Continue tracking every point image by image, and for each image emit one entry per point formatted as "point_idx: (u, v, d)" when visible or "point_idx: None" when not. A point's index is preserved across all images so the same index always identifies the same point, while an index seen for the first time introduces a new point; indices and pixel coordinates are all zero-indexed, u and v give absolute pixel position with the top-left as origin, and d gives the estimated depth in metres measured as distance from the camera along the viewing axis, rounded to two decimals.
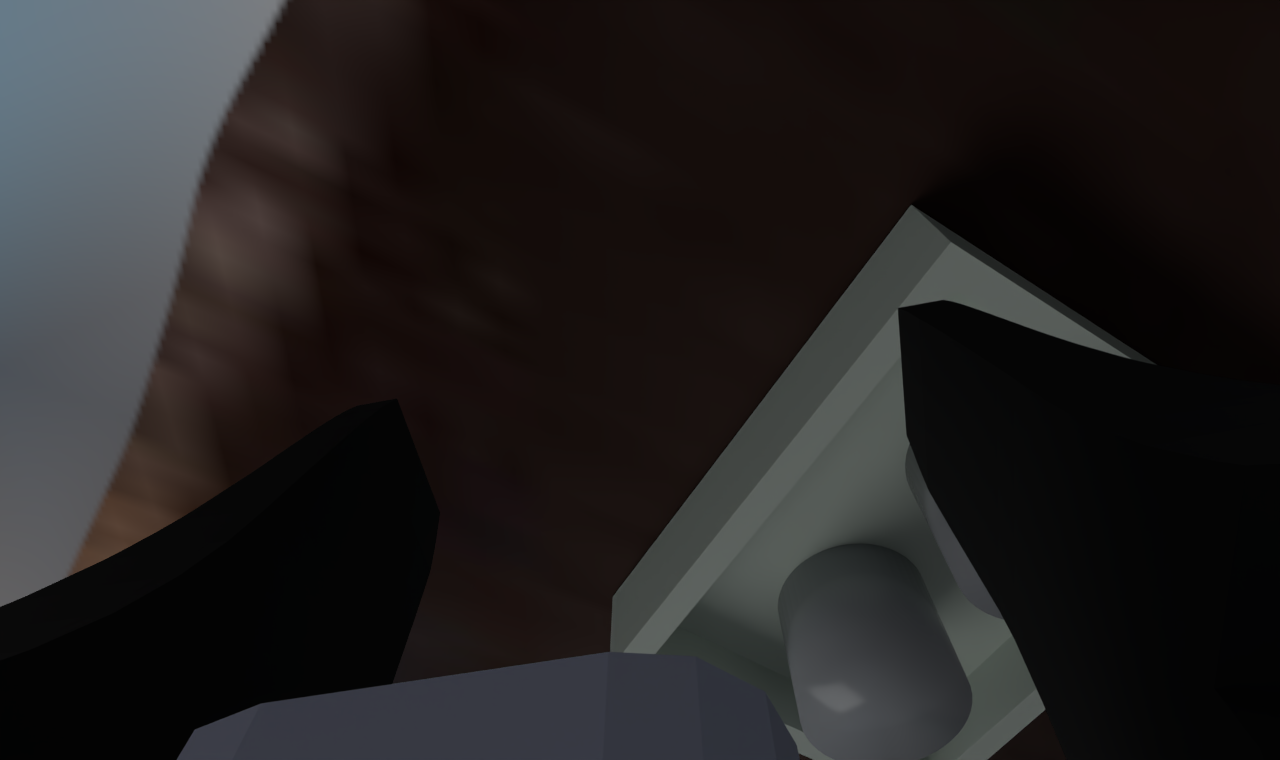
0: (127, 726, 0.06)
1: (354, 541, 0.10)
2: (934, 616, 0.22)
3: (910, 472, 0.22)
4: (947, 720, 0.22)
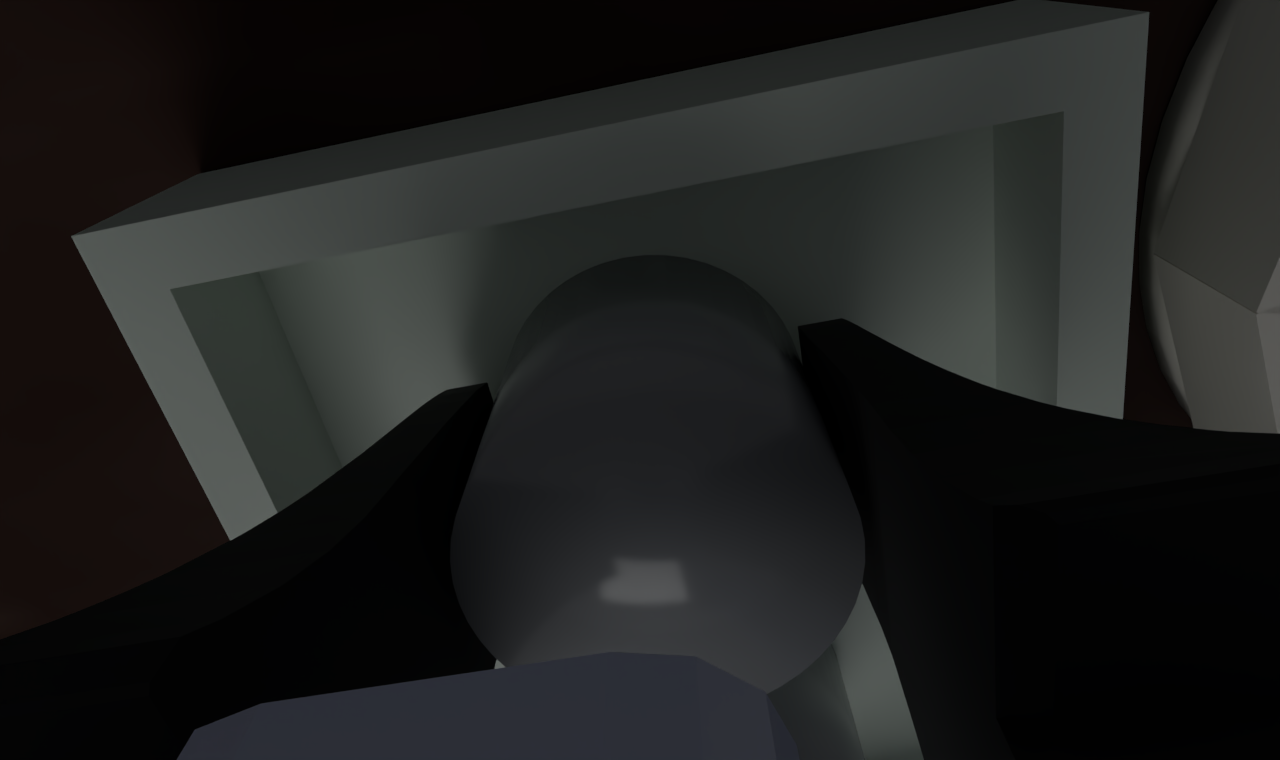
0: None
1: None
2: None
3: None
4: None
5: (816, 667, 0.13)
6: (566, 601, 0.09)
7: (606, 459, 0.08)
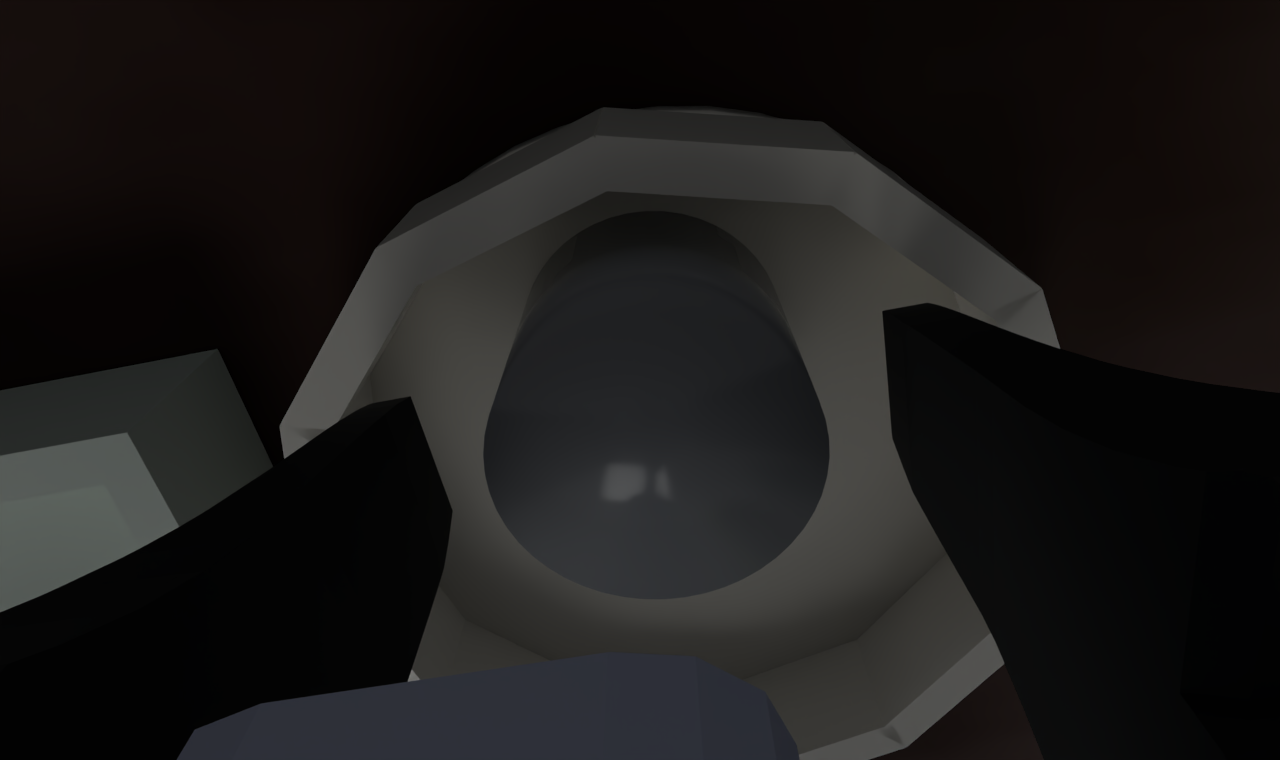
0: (152, 722, 0.06)
1: (369, 538, 0.10)
2: None
3: None
4: None
5: None
6: (580, 491, 0.11)
7: (614, 365, 0.10)
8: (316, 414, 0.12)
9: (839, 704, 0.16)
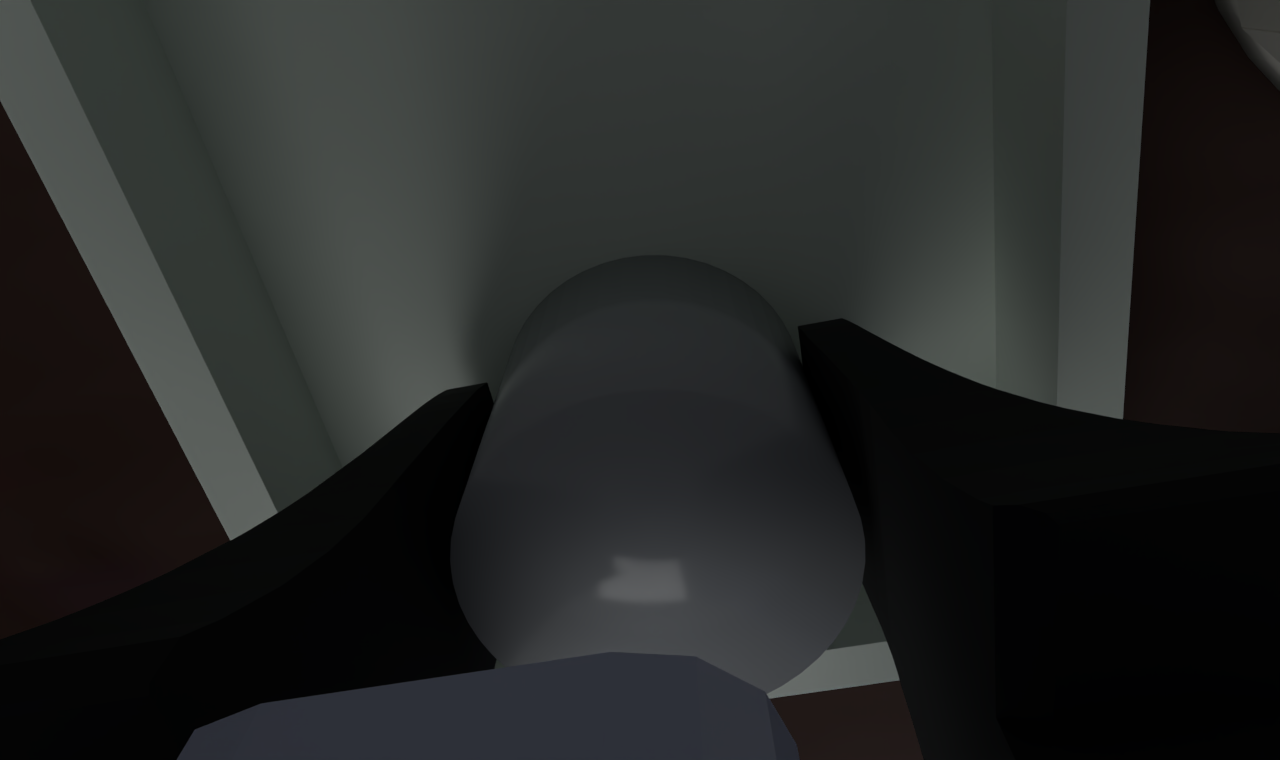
0: None
1: None
2: (662, 320, 0.09)
3: None
4: (804, 509, 0.09)
5: (766, 325, 0.11)
6: None
7: None
8: None
9: None
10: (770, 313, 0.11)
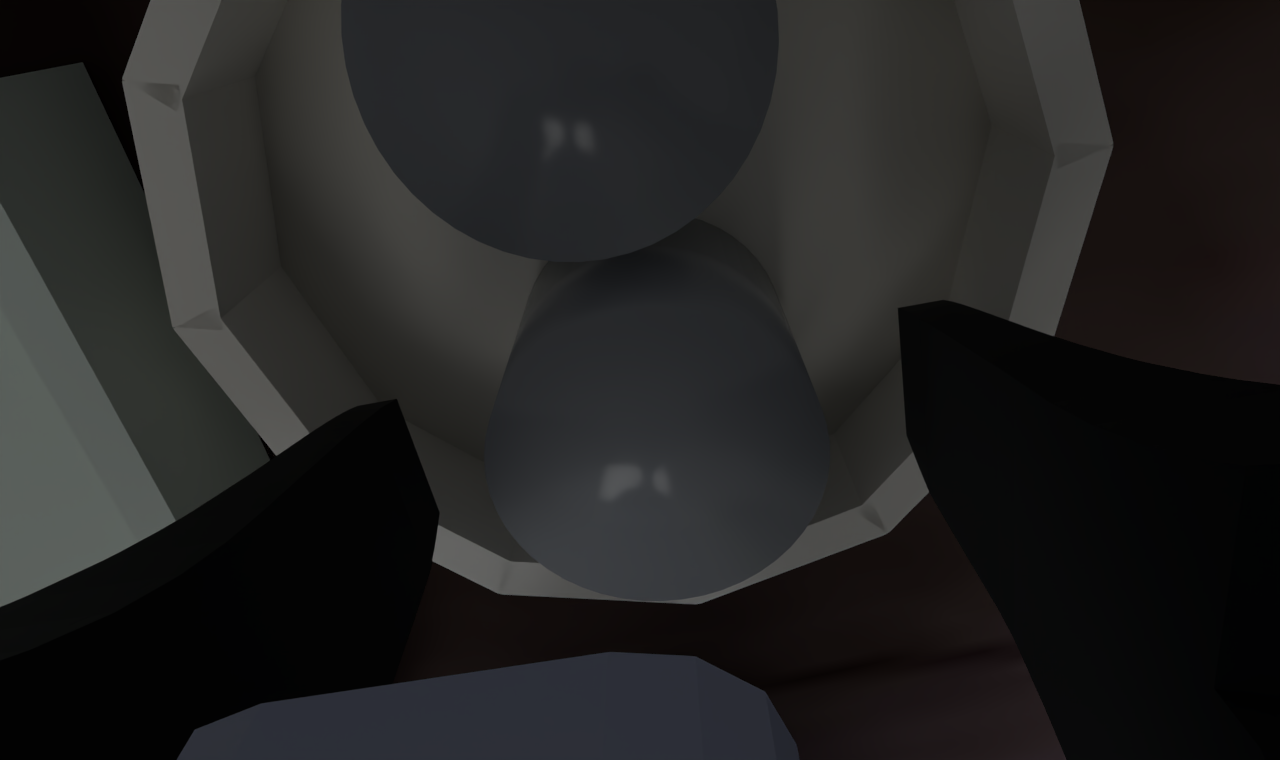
0: (127, 726, 0.06)
1: (354, 540, 0.10)
2: (664, 260, 0.11)
3: None
4: (780, 414, 0.10)
5: (752, 271, 0.12)
6: (466, 95, 0.09)
7: None
8: (165, 61, 0.10)
9: None
10: (756, 264, 0.13)
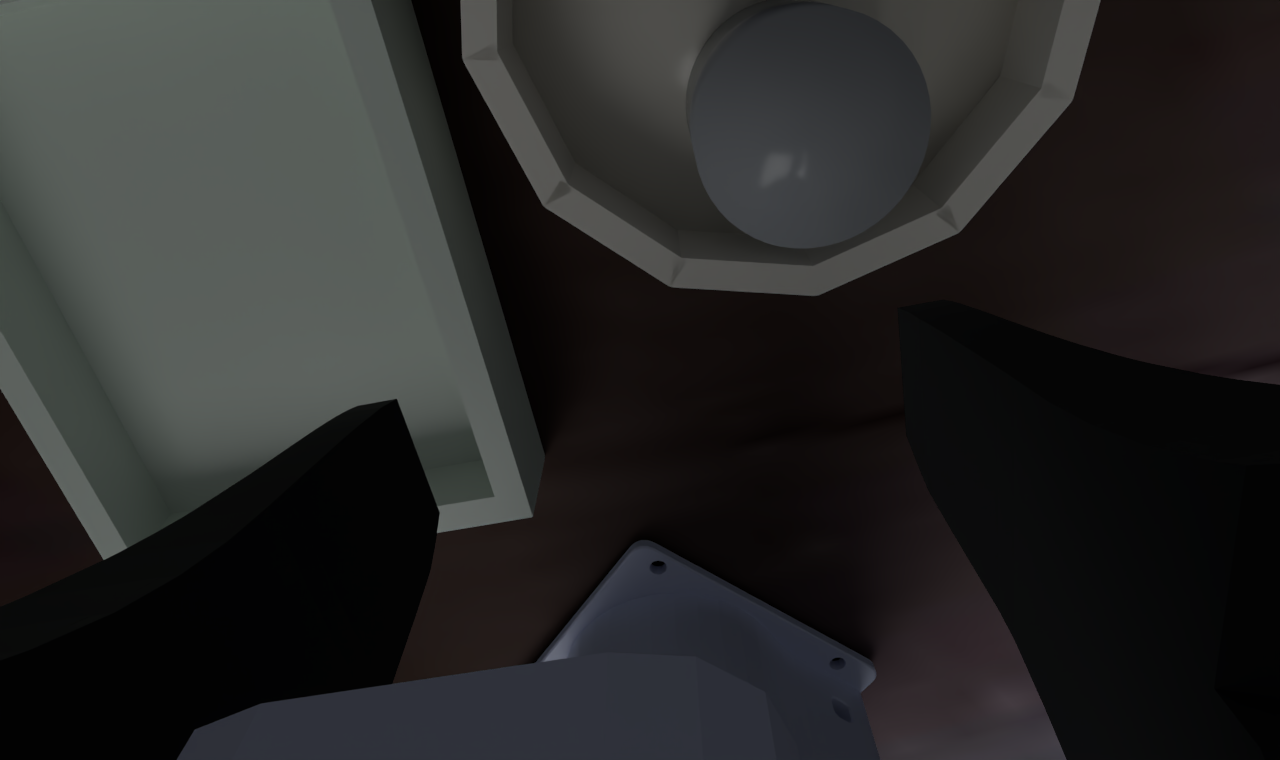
0: (127, 726, 0.06)
1: (354, 541, 0.10)
2: (811, 2, 0.16)
3: None
4: (897, 89, 0.15)
5: None
6: None
7: None
8: None
9: (900, 212, 0.19)
10: None
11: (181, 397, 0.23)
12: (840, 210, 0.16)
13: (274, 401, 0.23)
